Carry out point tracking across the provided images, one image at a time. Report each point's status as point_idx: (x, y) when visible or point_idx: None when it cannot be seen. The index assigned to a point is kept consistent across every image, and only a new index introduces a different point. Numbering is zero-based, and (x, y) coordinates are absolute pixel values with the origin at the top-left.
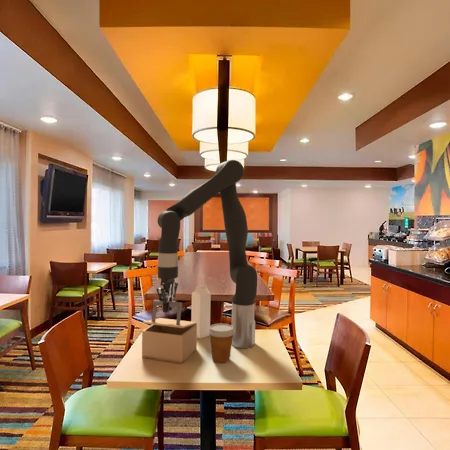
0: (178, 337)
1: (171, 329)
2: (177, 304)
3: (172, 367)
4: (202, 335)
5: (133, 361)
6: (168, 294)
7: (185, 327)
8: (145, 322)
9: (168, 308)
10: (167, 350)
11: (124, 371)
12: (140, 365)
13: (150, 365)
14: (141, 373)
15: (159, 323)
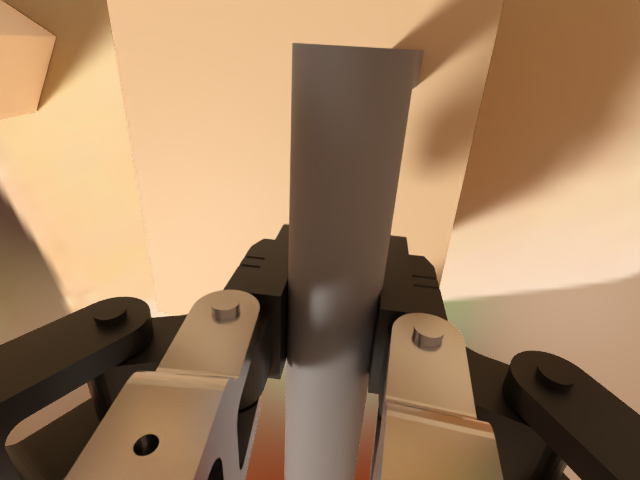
0: None
1: None
2: (403, 119)
3: (502, 45)
4: (21, 19)
5: (452, 268)
6: (495, 472)
7: None
8: None
9: (396, 255)
10: None
11: (564, 263)
12: (492, 222)
13: (488, 176)
14: (586, 182)
15: (443, 252)
